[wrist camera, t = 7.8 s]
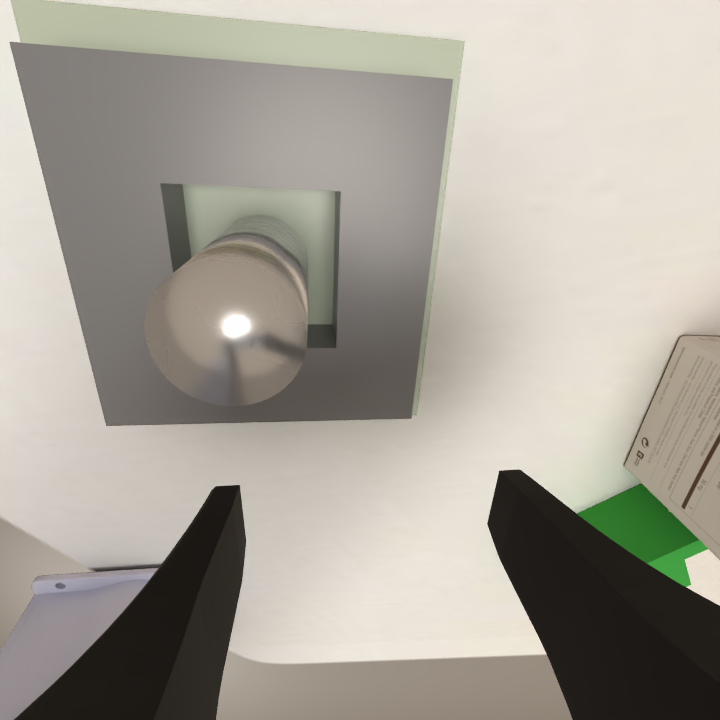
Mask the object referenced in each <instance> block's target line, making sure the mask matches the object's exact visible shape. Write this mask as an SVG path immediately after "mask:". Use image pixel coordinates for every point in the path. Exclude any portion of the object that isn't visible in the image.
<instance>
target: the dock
mask: <svg viewBox="0 0 720 720" xmlns="http://www.w3.org/2000/svg"><path fill="white" fill-rule="evenodd" d="M11 4H12V8H13V12H14V16H15V20H16V24H17V28H18V32H19V37H20V41H21V43H18V42H10V46H11V50H12V54H13V58H14V61H15V65H16V69H17V73H18V77H19V81H20V85H21V89H22V93H23V97H24V101H25V105H26V109H27V113H28V117H29V121H30V125H31V129H32V133H33V137H34V141H35V145H36V149H37V153H38V157H39V161H40V165H41V169H42V173H43V176H44V180H45V184H46V188H47V192H48V196H49V200H50V204H51V208H52V212H53V216H54V220H55V224H56V228H57V232H58V236H59V240H60V244H61V248H62V252H63V256H64V260H65V264H66V268H67V272H68V276H69V280H70V284H71V288H72V291H73V295H74V299H75V303H76V307H77V311H78V315H79V319H80V323H81V327H82V331H83V335H84V339H85V343H86V347H87V351H88V355H89V359H90V363H91V367H92V371H93V375H94V379H95V383H96V387H97V391H98V395H99V399H100V403H101V406H102V410H103V414H104V418H105V422H106V426H121V425H162V424H203V423H245V422H286V421H327V420H368V419H409V418H412V415H417V407H418V399H419V392H420V384H421V376H422V368H423V361H424V353H425V345H426V337H427V330H428V322H429V314H430V306H431V298H432V291H433V283H434V275H435V267H436V260H437V252H438V244H439V236H440V229H441V221H442V213H443V205H444V198H445V190H446V182H447V174H448V167H449V159H450V151H451V143H452V135H453V128H454V120H455V112H456V104H457V97H458V89H459V81H460V73H461V66H462V58H463V50H464V42H465V41H459V40H448V39H438V38H428V37H417V36H407V35H397V34H386V33H376V32H366V31H355V30H345V29H334V28H324V27H314V26H303V25H293V24H283V23H272V22H262V21H252V20H241V19H231V18H221V17H210V16H200V15H189V14H179V13H169V12H158V11H148V10H138V9H127V8H117V7H107V6H96V5H86V4H76V3H65V2H55V1H44V0H11ZM254 215H265V216H271V217H274V218H277V219H279V220H281V221H283V222H285V223H287V224H288V225H289V226H291V227H292V228H293V229H294V230H295V231H296V232H297V234H298V235H299V236H300V238H301V239H302V241H303V243H304V245H305V248H306V251H307V255H308V324H307V349H306V354H305V358H304V361H303V363H302V366H301V368H300V370H299V371H298V373H297V375H296V376H295V378H294V379H293V380H292V381H291V383H289V384H288V385H287V386H286V387H285V388H284V389H283V390H282V391H280V392H279V393H277V394H276V395H274V396H272V397H270V398H269V399H266V400H264V401H261V402H258V403H254V404H250V405H244V406H222V405H216V404H211V403H207V402H204V401H201V400H199V399H196V398H194V397H192V396H190V395H188V394H186V393H184V392H183V391H181V390H180V389H179V388H177V387H176V386H174V385H173V384H172V383H171V382H170V381H169V380H168V379H167V378H166V377H165V376H164V375H163V374H162V373H161V371H160V370H159V368H158V367H157V366H156V364H155V362H154V361H153V359H152V357H151V355H150V352H149V349H148V347H147V343H146V338H145V328H144V325H145V315H146V311H147V307H148V305H149V302H150V300H151V297H152V296H153V294H154V293H155V291H156V289H157V288H158V287H159V286H160V285H161V284H162V282H163V281H164V280H166V279H167V278H168V277H169V276H170V275H171V274H173V273H174V272H175V271H176V270H178V269H179V268H180V267H181V266H182V265H184V264H185V263H186V262H187V261H189V260H190V259H191V258H192V257H194V256H195V255H196V254H197V253H198V252H200V251H201V250H202V249H203V248H205V247H206V246H207V245H208V244H209V243H211V242H212V241H213V240H214V239H216V238H217V237H218V236H219V235H220V234H222V233H223V232H224V231H225V230H227V229H228V228H229V227H230V226H231V225H233V224H234V223H235V222H237V221H239V220H241V219H243V218H245V217H249V216H254Z"/></svg>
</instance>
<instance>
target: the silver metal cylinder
mask: <svg viewBox="0 0 720 720" xmlns="http://www.w3.org/2000/svg"><path fill="white" fill-rule="evenodd" d="M307 324H308V255H307V251H306V248H305V245H304V243H303V241H302V239H301V238H300V236H299V235H298V234H297V232H296V231H295V230H294V229H293V228H292V227H291V226H289V225H288V224H287V223H285V222H283V221H281V220H279V219H277V218H274V217H271V216H265V215H254V216H249V217H245V218H243V219H241V220H239V221H237V222H235V223H234V224H233V225H231V226H230V227H229V228H228V229H227V230H225V231H224V232H223V233H222V234H220V235H219V236H218V237H217V238H216V239H214V240H213V241H212V242H211V243H209V244H208V245H207V246H206V247H205V248H203V249H202V250H201V251H200V252H198V253H197V254H196V255H195V256H194V257H192V258H191V259H190V260H189V261H187V262H186V263H185V264H184V265H182V266H181V267H180V268H179V269H178V270H176V271H175V272H174V273H173V274H171V275H170V276H169V277H168V278H167V279H166V280H164V281H163V282H162V284H161V285H160V286H159V287H158V288H157V289H156V291H155V293H154V294H153V296H152V297H151V300H150V302H149V305H148V307H147V311H146V315H145V325H144V328H145V338H146V343H147V347H148V349H149V352H150V355H151V357H152V359H153V361H154V362H155V364H156V366H157V367H158V368H159V370H160V371H161V373H162V374H163V375H164V376H165V377H166V378H167V379H168V380H169V381H170V382H171V383H172V384H173V385H174V386H176V387H177V388H179V389H180V390H181V391H183V392H184V393H186V394H188V395H190V396H192V397H194V398H196V399H199V400H201V401H204V402H207V403H211V404H216V405H222V406H244V405H250V404H254V403H258V402H261V401H264V400H266V399H269V398H270V397H272V396H274V395H276V394H277V393H279V392H280V391H282V390H283V389H284V388H285V387H286V386H287V385H288V384H289V383H291V381H292V380H293V379H294V378H295V376H296V375H297V373H298V371H299V370H300V368H301V366H302V363H303V361H304V358H305V354H306V349H307Z"/></svg>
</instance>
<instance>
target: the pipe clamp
mask: <svg viewBox="0 0 720 720" xmlns="http://www.w3.org/2000/svg"><path fill="white" fill-rule="evenodd" d="M578 515H579V516H580V517H582V518H583V519H584V520H586V521H587V522H588V523H590V524H591V525H592V526H594V527H595V528H596V529H598V530H599V531H600V532H602V533H603V534H604V535H606V536H607V537H609V538H610V539H612V540H613V541H614V542H616V543H617V544H619V545H620V546H622V547H623V548H624V549H626V550H627V551H629V552H630V553H632V554H633V555H635V556H636V557H638V558H639V559H641V560H642V561H644V562H645V563H647V564H649V565H650V566H652V567H653V568H655V569H657V570H658V571H660V572H662V573H663V574H665V575H666V576H668V577H670V578H671V579H673V580H674V581H676V582H678V583H679V584H681V585H683V586H685V587H687V586H689V585H691V582H690V579H689V575H688V571H687V567H686V563H685V560H684V559H686V558H689V557H691V556H693V555H695V554H698V553H700V552H702V551H704V550H707V549H708V548H707V547H706V546H705V545H704V544H703V543H702V542H701V541H700V540H699V539H698V538H697V537H696V536H695V535H694V534H693V533H692V532H691V531H690V530H689V529H688V528H687V527H686V526H685V525H684V524H683V523H682V522H680V521H679V520H678V519H677V518H676V517H675V516H674V515H673V514H672V513H671V512H669V510H668V509H667V508H666V507H665V506H664V505H663V504H662V503H661V502H660V501H659V500H658V499H657V498H656V497H655V496H654V495H653V494H652V493H651V492H650V491H649V490H648V489H647V488H646V487H645V486H644V485H643V484H642V483H641V484H639V485H637V486H635V487H633V488H631V489H628V490H626V491H624V492H622V493H620V494H618V495H616V496H614V497H611V498H609V499H607V500H605V501H603V502H601V503H599V504H597V505H595V506H592V507H590V508H588V509H586V510H584V511H582V512H580V513H578Z"/></svg>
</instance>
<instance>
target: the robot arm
mask: <svg viewBox="0 0 720 720" xmlns="http://www.w3.org/2000/svg"><path fill="white" fill-rule="evenodd" d="M487 524H488V527H489V530H490V533H491V536H492V539H493V542H494V545H495V547H496V550H497V553H498V555H499V558H500V560H501V562H502V564H503V566H504V569H505V571H506V573H507V575H508V577H509V579H510V581H511V583H512V585H513V587H514V589H515V591H516V593H517V595H518V597H519V599H520V601H521V603H522V605H523V607H524V609H525V611H526V613H527V615H528V617H529V619H530V621H531V623H532V624H533V626H534V628H535V630H536V632H537V634H538V636H539V638H540V640H541V643H542V645H543V647H544V649H545V651H546V653H547V656H548V658H549V660H550V663H551V665H552V668H553V670H554V673H555V675H556V677H557V680H558V683H559V685H560V688H561V690H562V692H563V695H564V697H565V700H566V703H567V705H568V708H569V711H570V713H571V716H572V719H573V720H720V606H719V605H717V604H715V603H713V602H712V601H710V600H708V599H706V598H704V597H702V596H701V595H699V594H697V593H695V592H693V591H692V590H690V589H688V588H686V587H685V586H683V585H681V584H679V583H678V582H676V581H674V580H673V579H671V578H670V577H668V576H666V575H665V574H663V573H662V572H660V571H658V570H657V569H655V568H653V567H652V566H650V565H649V564H647V563H645V562H644V561H642V560H641V559H639V558H638V557H636V556H635V555H633V554H632V553H630V552H629V551H627V550H626V549H624V548H623V547H622V546H620V545H619V544H617V543H616V542H614V541H613V540H612V539H610V538H609V537H607V536H606V535H604V534H603V533H602V532H600V531H599V530H598V529H596V528H595V527H594V526H592V525H591V524H590V523H588V522H587V521H586V520H584V519H583V518H582V517H580V516H579V515H578V514H576V513H575V512H574V511H572V510H571V509H570V508H569V507H567V506H566V505H565V504H563V503H562V502H561V501H560V500H558V499H557V498H556V497H555V496H553V495H552V494H551V493H549V492H548V491H547V490H546V489H544V488H543V487H542V486H541V485H539V484H538V483H537V482H536V481H534V480H533V479H532V478H530V477H529V476H528V475H526V474H525V473H524V472H522V471H521V470H505V471H499V475H498V479H497V484H496V488H495V493H494V497H493V501H492V506H491V510H490V515H489V519H488V523H487ZM245 547H246V536H245V528H244V519H243V510H242V501H241V492H240V485H233V486H216V487H215V488H214V489H213V490H212V491H211V492H210V494H209V496H208V498H207V499H206V501H205V502H204V504H203V506H202V507H201V509H200V510H199V512H198V514H197V515H196V517H195V518H194V520H193V521H192V523H191V524H190V526H189V527H188V529H187V530H186V532H185V533H184V534H183V536H182V537H181V539H180V540H179V541H178V543H177V544H176V546H175V547H174V548H173V550H172V551H171V553H170V554H169V555H168V557H167V558H166V559H165V561H164V562H163V563H162V564H161V566H160V567H159V568H148V569H133V570H118V571H103V572H88V573H74V574H58V575H44V576H38V577H36V578H35V580H34V581H33V583H32V584H31V588H32V590H33V592H34V597H33V598H32V600H31V601H30V603H29V605H28V606H27V608H26V610H25V611H24V613H23V614H22V616H21V618H20V619H19V621H18V622H17V624H16V626H15V628H14V629H13V630H12V632H11V634H10V635H9V637H8V639H7V640H6V642H5V643H4V645H3V647H2V648H1V650H0V720H216V714H217V706H218V698H219V692H220V686H221V681H222V675H223V670H224V665H225V661H226V656H227V651H228V646H229V641H230V637H231V632H232V627H233V622H234V618H235V613H236V608H237V603H238V598H239V593H240V588H241V583H242V577H243V567H244V557H245Z"/></svg>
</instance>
